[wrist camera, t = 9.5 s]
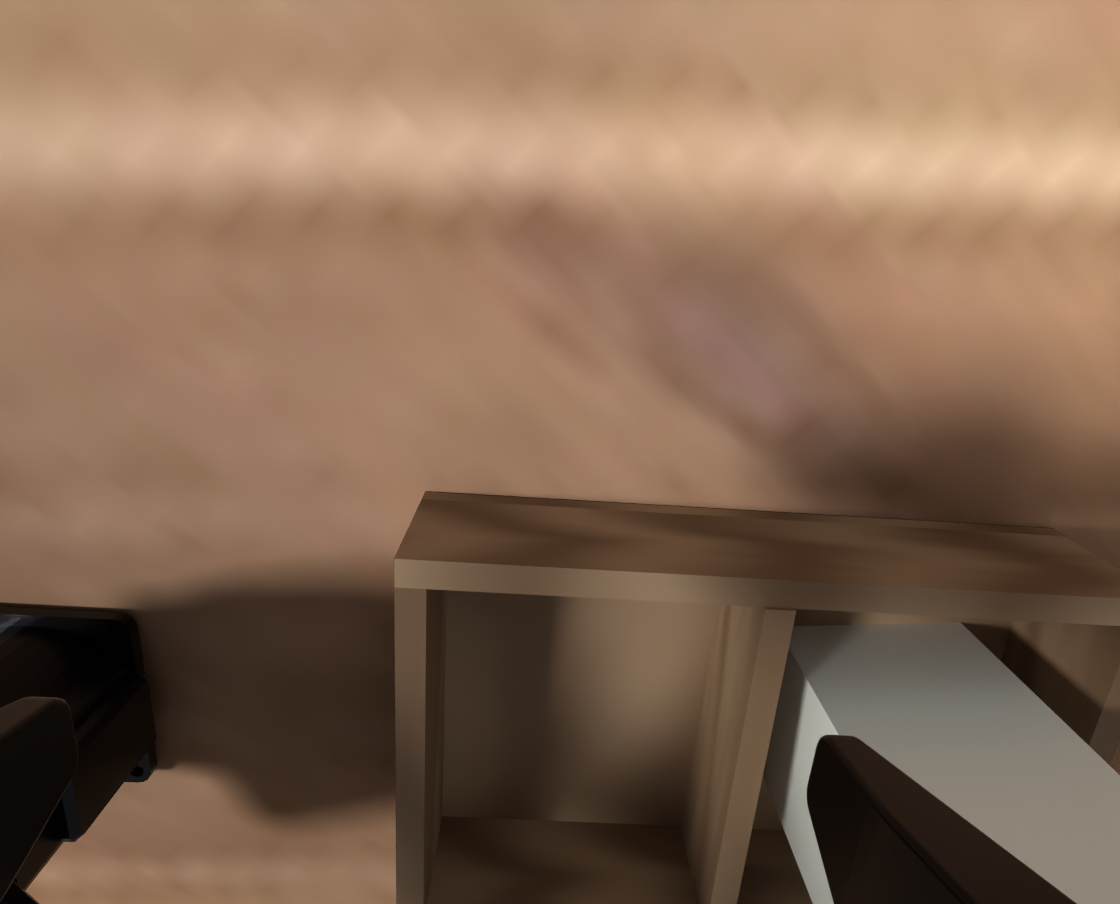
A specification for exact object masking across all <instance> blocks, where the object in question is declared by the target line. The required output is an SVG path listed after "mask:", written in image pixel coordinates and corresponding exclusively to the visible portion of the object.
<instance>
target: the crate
mask: <svg viewBox="0 0 1120 904" xmlns="http://www.w3.org/2000/svg"><path fill="white" fill-rule="evenodd" d="M394 614H395V759H396V904H813V903H812V900H811V898H810V895H809V893H808V890H807V888H806V885H805V882H804V880H803V877H802V875H801V872H800V870H799V867H798V865H797V862H796V859H795V857H794V854H793V852H792V849H791V847H790V844H789V842H788V839H787V836H786V834H785V831H784V829H783V826H782V824H781V821H780V819H779V816H778V813H777V811H776V808H775V806H774V803H773V801H772V798H771V796H770V793H769V790H768V788H767V785H766V783H765V780H764V778H763V773H764V768H765V763H766V758H767V753H768V748H769V743H770V738H771V733H772V728H773V723H774V719H775V714H776V709H777V704H778V699H779V694H780V689H781V684H782V679H783V674H784V669H785V664H786V660H787V655H788V650H789V645H790V640H791V635H792V630H793V626H818V625H862V624H907V623H952V622H960V623H961V624H962V625H963V626H965V627H966V628H967V629H968V630H969V631H970V632H971V633H972V634H973V635H974V636H975V637H976V638H977V639H978V640H979V641H980V642H981V643H982V644H983V645H984V646H985V647H986V648H987V649H989V650H990V651H991V652H992V653H993V654H994V655H995V656H996V657H997V658H998V659H999V660H1000V661H1001V662H1002V663H1003V664H1004V665H1005V666H1006V667H1007V668H1008V669H1009V670H1010V671H1011V672H1013V673H1014V674H1015V675H1016V676H1017V677H1018V678H1019V679H1020V680H1021V681H1022V682H1023V683H1024V684H1025V685H1026V686H1027V687H1028V688H1029V689H1030V690H1031V691H1032V692H1033V693H1034V694H1035V695H1036V696H1038V697H1039V698H1040V699H1041V700H1042V701H1043V702H1044V703H1045V704H1046V705H1047V706H1048V707H1049V708H1050V709H1051V710H1052V711H1053V712H1054V713H1055V714H1056V715H1057V716H1058V717H1059V718H1060V719H1062V720H1063V721H1064V722H1065V723H1066V724H1067V725H1068V726H1069V727H1070V728H1071V729H1072V730H1073V731H1074V732H1075V733H1076V734H1077V735H1078V736H1079V737H1080V738H1081V739H1082V740H1083V741H1084V742H1086V743H1087V744H1088V745H1089V746H1090V747H1091V748H1092V749H1093V750H1094V751H1095V752H1096V753H1097V754H1098V755H1099V756H1100V757H1101V758H1102V759H1103V760H1104V761H1105V762H1106V763H1107V764H1108V765H1110V762H1111V760H1112V757H1113V755H1114V752H1115V750H1116V747H1117V745H1118V742H1119V740H1120V569H1119V568H1118V567H1116V566H1114V565H1113V564H1111V563H1109V562H1108V561H1106V560H1104V559H1103V558H1101V557H1099V556H1098V555H1096V554H1094V553H1093V552H1091V551H1089V550H1087V549H1086V548H1084V547H1082V546H1081V545H1079V544H1077V543H1076V542H1074V541H1072V540H1071V539H1069V538H1067V537H1066V536H1064V535H1062V534H1061V533H1059V532H1057V531H1056V530H1054V529H1052V528H1039V527H1021V526H1004V525H987V524H970V523H953V522H936V521H919V520H902V519H885V518H868V517H851V516H834V515H817V514H800V513H783V512H765V511H748V510H731V509H714V508H697V507H680V506H663V505H646V504H629V503H612V502H595V501H578V500H561V499H544V498H527V497H510V496H492V495H475V494H458V493H441V492H425V493H424V496H423V498H422V500H421V502H420V504H419V506H418V508H417V511H416V513H415V515H414V517H413V519H412V521H411V523H410V526H409V528H408V530H407V532H406V534H405V536H404V539H403V541H402V543H401V545H400V547H399V549H398V551H397V554H396V556H395V558H394Z"/></svg>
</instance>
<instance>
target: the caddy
mask: <svg viewBox="0 0 1120 904" xmlns="http://www.w3.org/2000/svg"><path fill="white" fill-rule="evenodd" d="M824 735H847V736H854V737H857V738H858V739H860V740H861V741H863V742H864V743H865V744H867V745H868V746H869V747H871V748H872V749H873V750H875V751H876V752H877V753H879V754H880V755H881V756H883V757H884V758H885V759H887V760H888V761H889V762H891V763H892V764H893V765H894V766H896V767H897V768H898V769H900V770H901V771H902V772H904V773H905V774H906V775H908V776H909V777H910V778H912V779H913V780H914V781H916V782H917V783H918V784H920V785H921V786H922V787H924V788H925V789H926V790H928V791H929V792H930V793H931V794H933V795H934V796H935V797H937V798H938V799H939V800H941V801H942V802H943V803H945V804H946V805H947V806H949V807H950V808H951V809H953V810H954V811H955V812H957V813H958V814H959V815H961V816H962V817H963V818H965V819H966V820H967V821H968V822H970V823H971V824H972V825H974V826H975V827H976V828H978V829H979V830H980V831H982V832H983V833H984V834H986V835H987V836H988V837H990V838H991V839H992V840H994V841H995V842H996V843H998V844H999V845H1000V846H1001V847H1003V848H1004V849H1005V850H1007V851H1008V852H1009V853H1011V854H1012V855H1013V856H1015V857H1016V858H1017V859H1019V860H1020V861H1021V862H1023V863H1024V864H1025V865H1027V866H1028V867H1029V868H1031V869H1032V870H1033V871H1035V872H1036V873H1037V874H1038V875H1040V876H1041V877H1042V878H1044V879H1045V880H1046V881H1048V882H1049V883H1050V884H1052V885H1053V886H1054V887H1056V888H1057V889H1058V890H1060V891H1061V892H1062V893H1064V894H1065V895H1066V896H1068V897H1069V898H1070V899H1071V900H1073V901H1074V902H1075V903H1077V904H1120V775H1119V774H1118V773H1117V772H1116V771H1115V770H1114V769H1113V768H1112V767H1111V766H1110V765H1108V764H1107V763H1106V762H1105V761H1104V760H1103V759H1102V758H1101V757H1100V756H1099V755H1098V754H1097V753H1096V752H1095V751H1094V750H1093V749H1092V748H1091V747H1090V746H1089V745H1088V744H1087V743H1086V742H1084V741H1083V740H1082V739H1081V738H1080V737H1079V736H1078V735H1077V734H1076V733H1075V732H1074V731H1073V730H1072V729H1071V728H1070V727H1069V726H1068V725H1067V724H1066V723H1065V722H1064V721H1063V720H1062V719H1060V718H1059V717H1058V716H1057V715H1056V714H1055V713H1054V712H1053V711H1052V710H1051V709H1050V708H1049V707H1048V706H1047V705H1046V704H1045V703H1044V702H1043V701H1042V700H1041V699H1040V698H1039V697H1038V696H1036V695H1035V694H1034V693H1033V692H1032V691H1031V690H1030V689H1029V688H1028V687H1027V686H1026V685H1025V684H1024V683H1023V682H1022V681H1021V680H1020V679H1019V678H1018V677H1017V676H1016V675H1015V674H1014V673H1013V672H1011V671H1010V670H1009V669H1008V668H1007V667H1006V666H1005V665H1004V664H1003V663H1002V662H1001V661H1000V660H999V659H998V658H997V657H996V656H995V655H994V654H993V653H992V652H991V651H990V650H989V649H987V648H986V647H985V646H984V645H983V644H982V643H981V642H980V641H979V640H978V639H977V638H976V637H975V636H974V635H973V634H972V633H971V632H970V631H969V630H968V629H967V628H966V627H965V626H963V625H962V624H961V623H960V622H952V623H907V624H862V625H818V626H793V630H792V635H791V640H790V645H789V650H788V655H787V660H786V664H785V669H784V674H783V679H782V684H781V689H780V694H779V699H778V704H777V709H776V714H775V719H774V723H773V728H772V733H771V738H770V743H769V748H768V753H767V758H766V763H765V768H764V773H763V778H764V780H765V783H766V785H767V788H768V790H769V793H770V796H771V798H772V801H773V803H774V806H775V808H776V811H777V813H778V816H779V819H780V821H781V824H782V826H783V829H784V831H785V834H786V836H787V839H788V842H789V844H790V847H791V849H792V852H793V854H794V857H795V859H796V862H797V865H798V867H799V870H800V872H801V875H802V877H803V880H804V882H805V885H806V888H807V890H808V893H809V895H810V898H811V900H812V903H813V904H834V903H833V899H832V895H831V892H830V888H829V884H828V881H827V877H826V873H825V869H824V866H823V862H822V858H821V855H820V851H819V847H818V843H817V840H816V836H815V832H814V829H813V825H812V821H811V817H810V814H809V810H808V805H807V785H808V780H809V776H810V772H811V767H812V763H813V759H814V754H815V750H816V746H817V743H818V741H819V739H820V738H821V737H822V736H824Z"/></svg>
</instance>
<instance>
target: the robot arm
mask: <svg viewBox="0 0 1120 904" xmlns="http://www.w3.org/2000/svg"><path fill="white" fill-rule="evenodd" d="M114 626H115V627H118V628H120V629H121V630H122V633H121V632H118V631H117V630H116V629H115V627H114ZM155 740H156V733H155V726H154V719H153V712H152V705H151V698H150V691H149V684H148V680H147V679H146V677H145V674H144V667H143V660H142V653H141V646H140V639H139V632H138V626H137V624H136V621H135V620H134V619H133V618H132V617H131V616H129V615H127V614H124V613H117V612H97V611H78V610H58V609H38V608H19V607H0V904H39V903H38V902H37V901H36V900H35V899H34V898H33V897H32V896H30V895H29V894H28V893H27V892H26V891H25V890H26V889H27V888H28V886H29V885H30V884H31V883H32V881H33V880H34V879H35V877H36V876H37V875H38V874H39V872H40V871H41V870H42V869H43V867H44V866H45V865H46V864H47V862H48V861H49V860H50V858H51V857H52V856H53V855H54V853H55V852H56V851H57V850H58V848H59V847H60V846H61V844H62V843H63V842H75V841H76V840H78V839H79V838H80V837H81V836H82V835H83V834H84V833H85V832H86V831H87V830H88V828H89V827H90V826H91V824H92V823H93V822H94V821H95V819H96V818H97V817H98V815H99V814H100V813H101V811H102V810H103V809H104V807H105V806H106V805H107V804H108V802H109V801H110V800H111V798H112V797H113V796H114V794H115V793H116V792H117V790H118V789H119V788H120V787H121V785H122V784H123V783H124V782H144V781H146V780H148V778H149V777H150V776H151V774H152V773H153V771H154V770H155V769H156V767H157V759H156V752H155V745H154V742H155ZM137 765H138V766H137ZM139 766H140V767H139ZM807 805H808V810H809V814H810V817H811V821H812V825H813V829H814V832H815V836H816V840H817V843H818V847H819V851H820V855H821V858H822V862H823V866H824V869H825V873H826V877H827V881H828V884H829V888H830V892H831V895H832V899H833V903H834V904H1077V903H1075V902H1074V901H1073V900H1071V899H1070V898H1069V897H1068V896H1066V895H1065V894H1064V893H1062V892H1061V891H1060V890H1058V889H1057V888H1056V887H1054V886H1053V885H1052V884H1050V883H1049V882H1048V881H1046V880H1045V879H1044V878H1042V877H1041V876H1040V875H1038V874H1037V873H1036V872H1035V871H1033V870H1032V869H1031V868H1029V867H1028V866H1027V865H1025V864H1024V863H1023V862H1021V861H1020V860H1019V859H1017V858H1016V857H1015V856H1013V855H1012V854H1011V853H1009V852H1008V851H1007V850H1005V849H1004V848H1003V847H1001V846H1000V845H999V844H998V843H996V842H995V841H994V840H992V839H991V838H990V837H988V836H987V835H986V834H984V833H983V832H982V831H980V830H979V829H978V828H976V827H975V826H974V825H972V824H971V823H970V822H968V821H967V820H966V819H965V818H963V817H962V816H961V815H959V814H958V813H957V812H955V811H954V810H953V809H951V808H950V807H949V806H947V805H946V804H945V803H943V802H942V801H941V800H939V799H938V798H937V797H935V796H934V795H933V794H931V793H930V792H929V791H928V790H926V789H925V788H924V787H922V786H921V785H920V784H918V783H917V782H916V781H914V780H913V779H912V778H910V777H909V776H908V775H906V774H905V773H904V772H902V771H901V770H900V769H898V768H897V767H896V766H894V765H893V764H892V763H891V762H889V761H888V760H887V759H885V758H884V757H883V756H881V755H880V754H879V753H877V752H876V751H875V750H873V749H872V748H871V747H869V746H868V745H867V744H865V743H864V742H863V741H861V740H860V739H858V738H857V737H854V736H847V735H824V736H822V737H821V738H820V739H819V741H818V743H817V746H816V750H815V754H814V759H813V763H812V767H811V772H810V776H809V780H808V785H807Z"/></svg>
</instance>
